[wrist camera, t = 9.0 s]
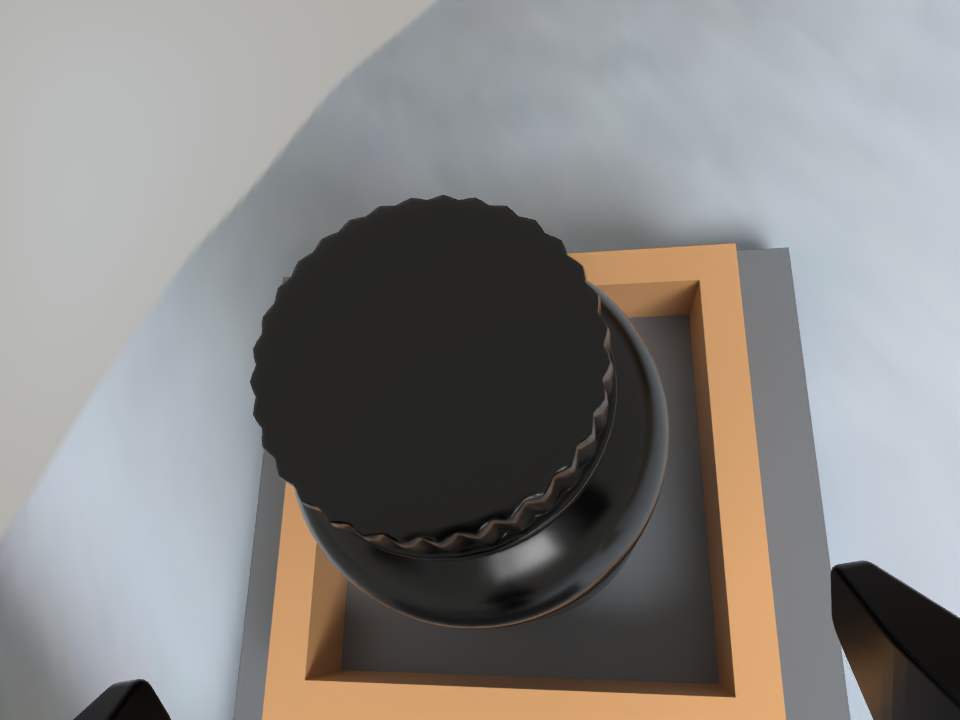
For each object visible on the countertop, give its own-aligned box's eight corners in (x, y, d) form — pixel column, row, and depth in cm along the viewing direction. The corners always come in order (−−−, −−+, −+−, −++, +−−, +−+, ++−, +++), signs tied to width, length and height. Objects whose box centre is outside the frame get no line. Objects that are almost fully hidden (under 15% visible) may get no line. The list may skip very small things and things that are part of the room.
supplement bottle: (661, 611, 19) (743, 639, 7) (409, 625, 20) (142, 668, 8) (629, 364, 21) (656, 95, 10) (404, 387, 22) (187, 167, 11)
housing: (880, 1069, 16) (983, 1248, 12) (224, 991, 19) (106, 1114, 14) (779, 265, 22) (821, 183, 18) (297, 291, 25) (231, 226, 20)
